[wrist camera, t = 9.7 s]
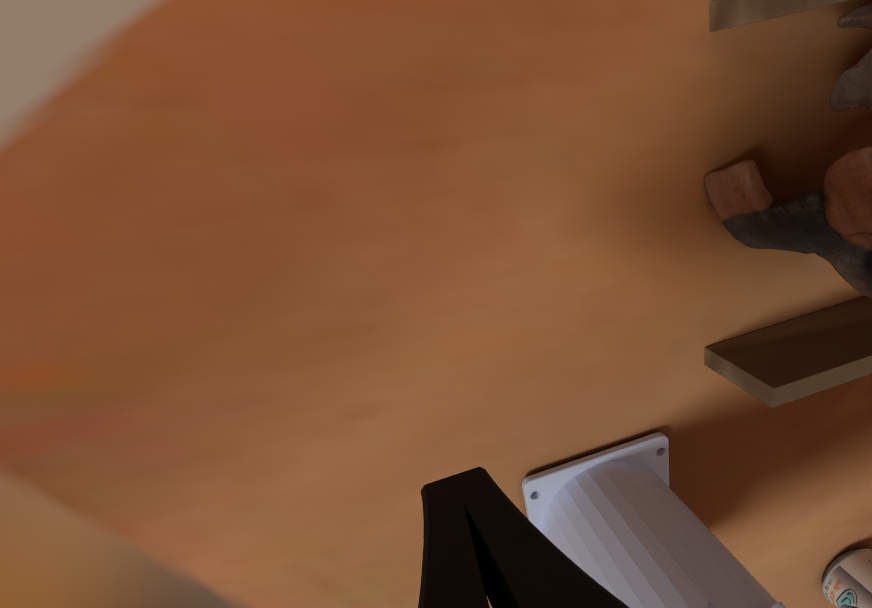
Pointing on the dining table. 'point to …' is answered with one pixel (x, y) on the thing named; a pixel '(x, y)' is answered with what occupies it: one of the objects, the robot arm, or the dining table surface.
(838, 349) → the box
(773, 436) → the dining table surface
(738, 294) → the dining table surface
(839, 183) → the brown hollow ring part
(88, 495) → the dining table surface
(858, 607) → the supplement bottle
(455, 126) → the dining table surface
